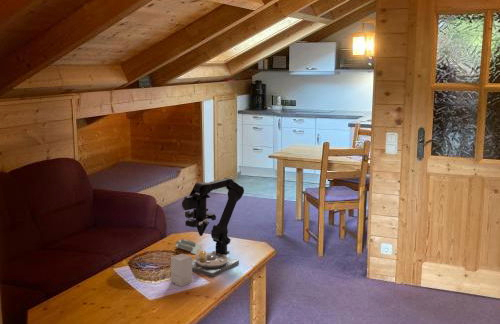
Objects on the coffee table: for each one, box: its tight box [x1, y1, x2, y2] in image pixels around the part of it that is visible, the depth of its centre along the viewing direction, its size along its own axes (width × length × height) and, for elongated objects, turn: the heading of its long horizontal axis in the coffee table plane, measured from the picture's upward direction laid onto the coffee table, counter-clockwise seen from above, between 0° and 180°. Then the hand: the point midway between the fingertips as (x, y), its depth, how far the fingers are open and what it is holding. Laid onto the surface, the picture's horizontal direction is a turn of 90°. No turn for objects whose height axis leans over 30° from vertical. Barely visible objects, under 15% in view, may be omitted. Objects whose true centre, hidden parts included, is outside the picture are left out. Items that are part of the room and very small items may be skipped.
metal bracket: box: [174, 238, 202, 256], centre depth 297 cm, size 14×6×15 cm
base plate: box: [192, 256, 240, 278], centre depth 273 cm, size 22×19×2 cm
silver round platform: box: [195, 250, 228, 268], centre depth 272 cm, size 16×16×7 cm
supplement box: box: [170, 253, 193, 287], centre depth 251 cm, size 7×7×13 cm
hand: (200, 235), depth 280 cm, fingers closed
